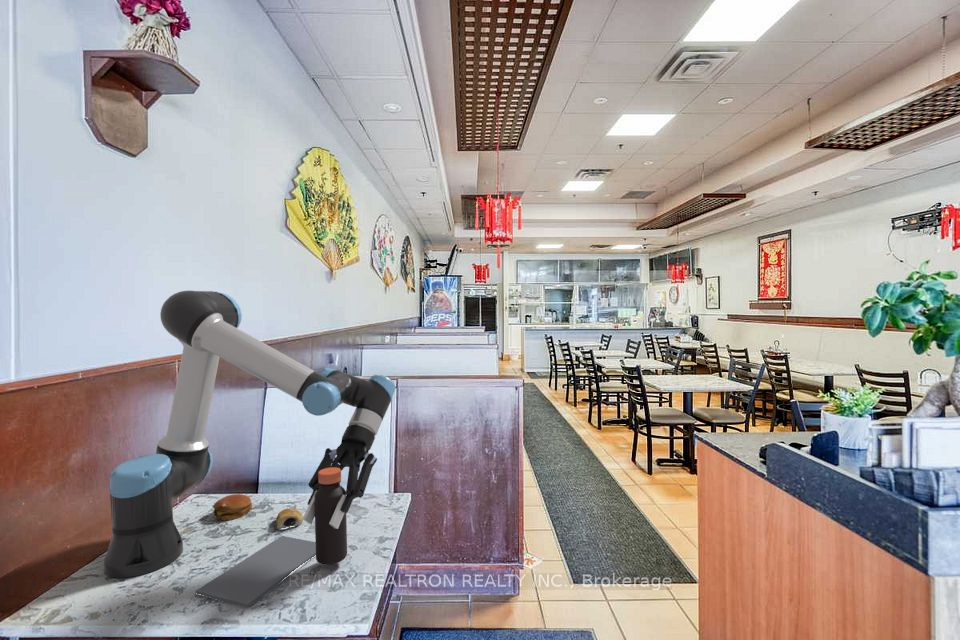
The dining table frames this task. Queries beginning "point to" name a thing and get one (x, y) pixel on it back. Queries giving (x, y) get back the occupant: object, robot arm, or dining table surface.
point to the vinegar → (329, 518)
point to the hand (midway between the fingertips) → (320, 523)
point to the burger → (232, 507)
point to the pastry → (289, 518)
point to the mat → (259, 572)
